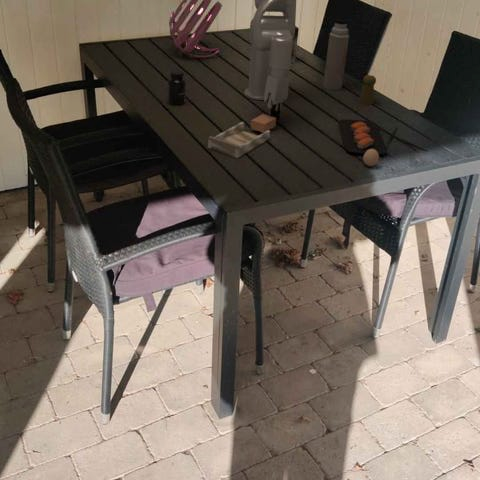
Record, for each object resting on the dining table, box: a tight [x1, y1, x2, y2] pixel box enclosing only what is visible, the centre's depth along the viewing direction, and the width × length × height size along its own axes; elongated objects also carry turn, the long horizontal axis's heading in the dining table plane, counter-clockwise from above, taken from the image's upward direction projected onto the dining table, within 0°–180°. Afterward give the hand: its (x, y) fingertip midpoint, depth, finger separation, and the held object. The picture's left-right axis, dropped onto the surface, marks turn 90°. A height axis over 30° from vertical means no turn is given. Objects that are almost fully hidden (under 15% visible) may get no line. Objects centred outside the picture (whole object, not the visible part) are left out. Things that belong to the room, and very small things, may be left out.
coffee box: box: [290, 25, 299, 64], centre depth 306 cm, size 9×6×16 cm
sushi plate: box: [338, 118, 428, 156], centre depth 239 cm, size 29×30×4 cm
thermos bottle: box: [322, 18, 350, 91], centre depth 277 cm, size 8×8×28 cm
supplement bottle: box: [167, 70, 187, 106], centre depth 256 cm, size 7×7×12 cm
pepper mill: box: [357, 74, 377, 106], centre depth 268 cm, size 6×6×11 cm
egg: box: [363, 149, 380, 167], centre depth 220 cm, size 5×5×6 cm
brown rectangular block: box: [250, 113, 277, 134], centre depth 241 cm, size 8×6×4 cm
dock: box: [207, 121, 271, 159], centre depth 230 cm, size 20×12×5 cm, turn 146°
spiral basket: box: [168, 0, 223, 59], centre depth 305 cm, size 28×28×27 cm
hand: (274, 119), depth 246 cm, fingers closed
